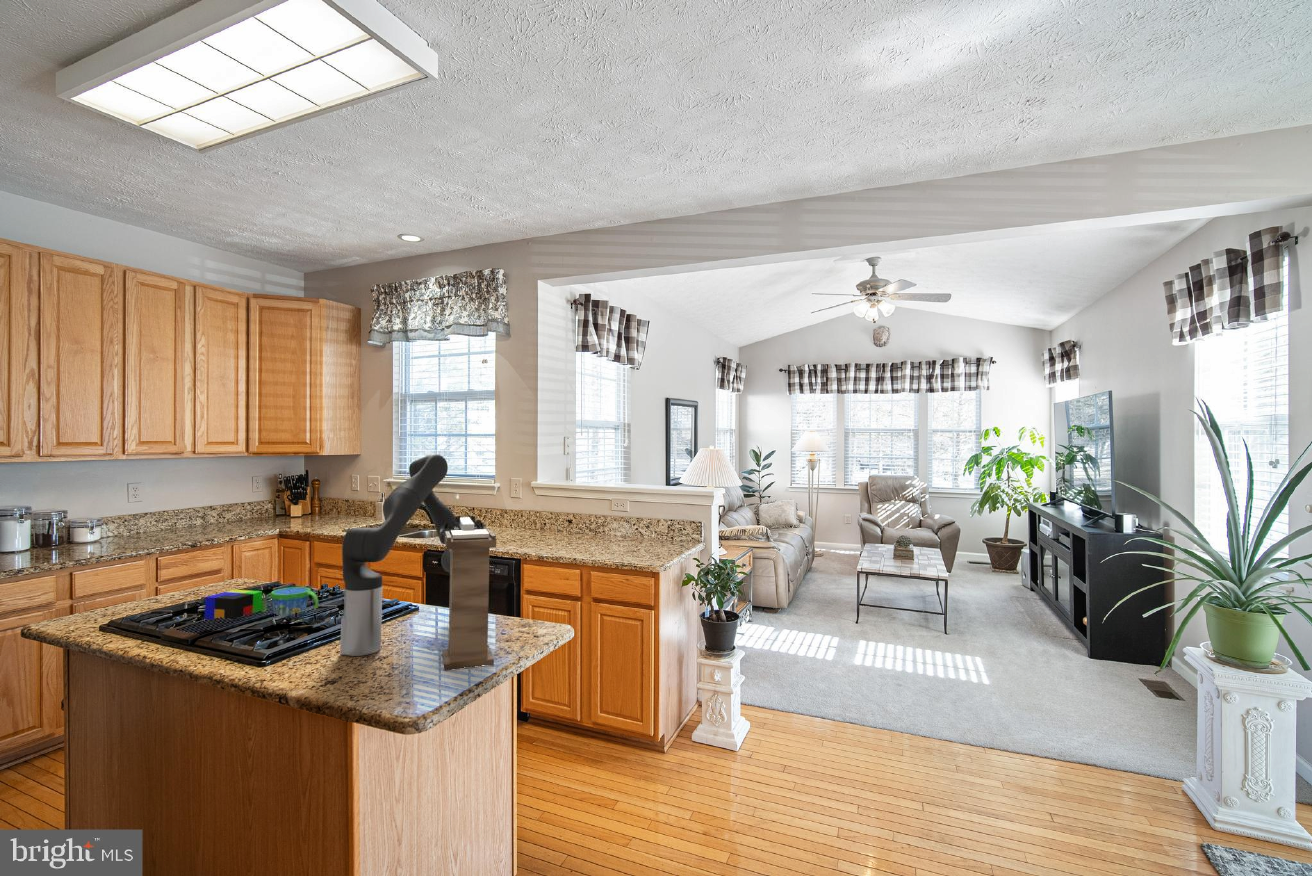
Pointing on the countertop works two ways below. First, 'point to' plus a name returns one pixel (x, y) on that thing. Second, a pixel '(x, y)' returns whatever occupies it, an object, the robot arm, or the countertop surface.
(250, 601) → the puzzle toy
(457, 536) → the slide cover
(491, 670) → the countertop surface
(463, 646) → the stand
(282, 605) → the snack cup
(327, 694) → the countertop surface
